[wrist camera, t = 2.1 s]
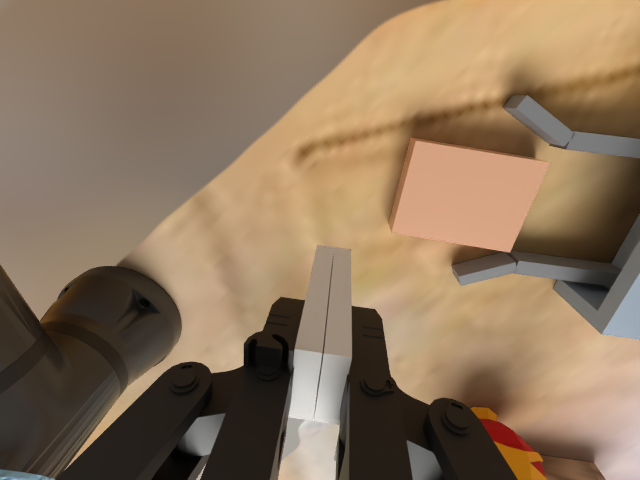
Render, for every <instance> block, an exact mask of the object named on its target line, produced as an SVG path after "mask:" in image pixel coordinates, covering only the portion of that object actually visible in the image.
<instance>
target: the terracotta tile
mask: <svg viewBox="0 0 640 480" xmlns="http://www.w3.org/2000/svg"><path fill="white" fill-rule="evenodd" d="M549 165H550V162H547V161H544V160H540V159H537V158H533V157H527V156H521V155H515V154H509V153H503V152H496V151H490V150H484V149H478V148H472V147H466V146H460V145H453V144H447V143H441V142H435V141H429V140H423V139H417V138H410V142H409V146H408V150H407V153H406V157H405V161H404V165H403V169H402V173H401V177H400V181H399V185H398V188H397V192H396V196H395V200H394V204H393V208H392V212H391V216H390V220H389V227H390V230H391V233H396V234H402V235H408V236H414V237H420V238H426V239H432V240H438V241H444V242H450V243H456V244H462V245H468V246H474V247H480V248H486V249H492V250H498V251H504V252H510V251H511V249H512V247H513V245H514V242H515V240H516V238H517V236H518V234H519V231H520V229H521V227H522V225H523V223H524V220H525V218H526V216H527V214H528V211H529V209H530V207H531V205H532V203H533V200H534V198H535V196H536V194H537V192H538V189H539V187H540V185H541V183H542V181H543V178H544V176H545V174H546V172H547V169H548V167H549Z"/></svg>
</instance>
